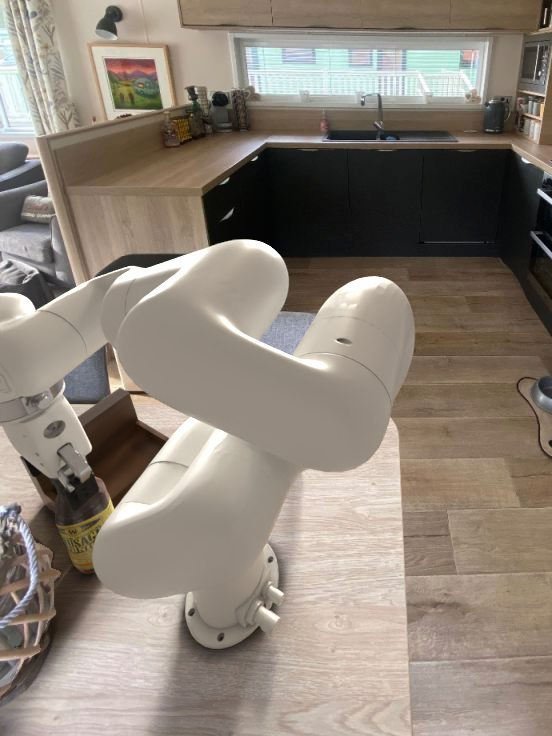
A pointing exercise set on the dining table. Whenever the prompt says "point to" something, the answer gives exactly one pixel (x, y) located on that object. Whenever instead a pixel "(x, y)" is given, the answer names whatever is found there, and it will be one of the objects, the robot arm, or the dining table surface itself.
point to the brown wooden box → (112, 447)
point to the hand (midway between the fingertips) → (65, 483)
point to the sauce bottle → (81, 521)
